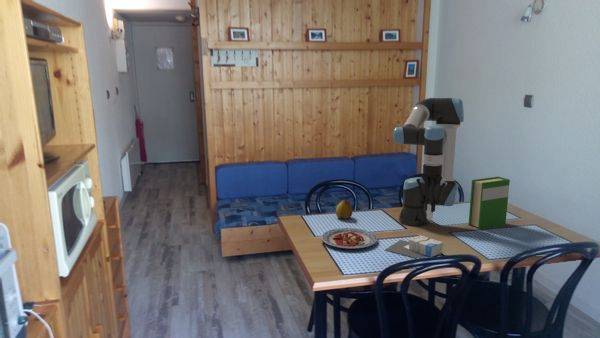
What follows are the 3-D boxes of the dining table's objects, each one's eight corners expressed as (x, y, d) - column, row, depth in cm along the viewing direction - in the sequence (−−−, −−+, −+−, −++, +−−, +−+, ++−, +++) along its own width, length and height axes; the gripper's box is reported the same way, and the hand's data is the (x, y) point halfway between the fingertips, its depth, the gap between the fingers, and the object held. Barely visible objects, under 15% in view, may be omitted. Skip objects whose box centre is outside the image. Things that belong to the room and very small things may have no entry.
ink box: (431, 246, 183) (403, 237, 194) (430, 257, 184) (402, 247, 195) (443, 241, 188) (415, 232, 199) (442, 252, 189) (414, 243, 200)
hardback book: (479, 229, 218) (483, 183, 213) (468, 225, 225) (471, 179, 220) (505, 224, 225) (509, 179, 220) (493, 220, 232) (497, 176, 227)
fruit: (336, 215, 243) (336, 194, 240) (352, 215, 241) (352, 194, 239) (335, 220, 234) (335, 198, 232) (352, 220, 233) (352, 199, 231)
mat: (384, 250, 193) (384, 249, 193) (400, 240, 205) (400, 239, 204) (425, 261, 181) (425, 260, 181) (440, 250, 193) (440, 249, 193)
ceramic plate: (312, 236, 211) (312, 230, 210) (358, 229, 221) (358, 223, 220) (337, 256, 188) (337, 249, 187) (388, 247, 198) (388, 240, 197)
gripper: (413, 163, 182) (411, 217, 187) (444, 167, 173) (441, 224, 179) (421, 160, 187) (419, 213, 193) (451, 164, 179) (448, 219, 184)
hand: (429, 218), depth 186 cm, fingers closed
